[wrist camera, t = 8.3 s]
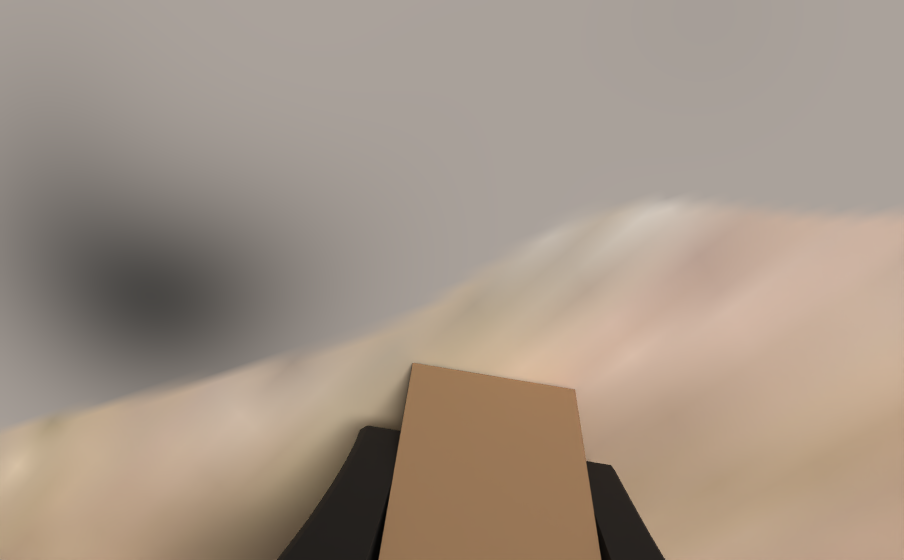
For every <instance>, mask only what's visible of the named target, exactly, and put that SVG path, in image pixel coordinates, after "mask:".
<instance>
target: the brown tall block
mask: <svg viewBox="0 0 904 560" xmlns="http://www.w3.org/2000/svg"><path fill="white" fill-rule="evenodd" d="M379 560H601V555H600V548H599V542H598V535H597V529H596V522H595V516H594V509H593V503H592V496H591V490H590V484H589V477H588V471H587V464H586V458H585V451H584V445H583V438H582V432H581V425H580V419H579V412H578V406H577V400H576V393H575V390H573V389H567V388H561V387H555V386H549V385H543V384H537V383H531V382H525V381H519V380H513V379H507V378H501V377H495V376H489V375H483V374H477V373H471V372H465V371H459V370H453V369H447V368H441V367H435V366H429V365H422V364H416V363H413V365H412V371H411V376H410V382H409V388H408V394H407V399H406V405H405V411H404V417H403V422H402V428H401V434H400V440H399V445H398V451H397V457H396V462H395V468H394V474H393V480H392V485H391V491H390V497H389V503H388V508H387V514H386V520H385V526H384V531H383V537H382V543H381V549H380V554H379Z"/></svg>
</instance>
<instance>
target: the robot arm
mask: <svg viewBox="0 0 904 560" xmlns="http://www.w3.org/2000/svg"><path fill="white" fill-rule="evenodd" d="M400 434H401V431H397V430H391V429H385V428H379V427H373V426H366V427H364V428H363V429H361V430H360V432H359V434H358V437H357V440H356V442H355V444H354V446H353V448H352V450H351V452H350V454H349V456H348V458H347V460H346V461H345V463H344V465H343V467H342V468H341V470H340V472H339V473H338V475H337V477H336V478H335V480H334V482H333V483H332V485H331V486H330V488H329V489H328V491H327V492H326V494H325V495H324V497H323V498H322V500H321V501H320V503H319V504H318V506H317V507H316V509H315V510H314V512H313V513H312V515H311V516H310V517H309V519H308V520H307V522H306V523H305V524H304V526H303V527H302V528H301V530H300V531H299V532H298V533H297V535H296V536H295V537H294V539H293V540H292V541H291V542H290V544H289V545H288V546H287V548H286V549H285V550H284V552H283V553H282V554H281V555H280V557H279V558H278V559H277V560H379V554H380V549H381V543H382V537H383V531H384V526H385V520H386V514H387V508H388V503H389V497H390V491H391V485H392V480H393V474H394V468H395V462H396V457H397V451H398V445H399V440H400ZM586 464H587V471H588V477H589V484H590V490H591V496H592V503H593V509H594V516H595V522H596V529H597V535H598V542H599V548H600V555H601V560H665V558H664V557H663V555H662V554H661V552H660V550H659V549H658V547H657V545H656V544H655V542H654V540H653V538H652V537H651V535H650V533H649V532H648V530H647V528H646V526H645V524H644V523H643V521H642V519H641V517H640V516H639V514H638V512H637V510H636V508H635V507H634V505H633V503H632V501H631V499H630V498H629V496H628V494H627V492H626V490H625V488H624V487H623V485H622V483H621V481H620V479H619V477H618V475H617V474H616V472H615V470H614V469H613V467H612V466H611V465H606V464H600V463H594V462H588V461H586Z"/></svg>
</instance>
